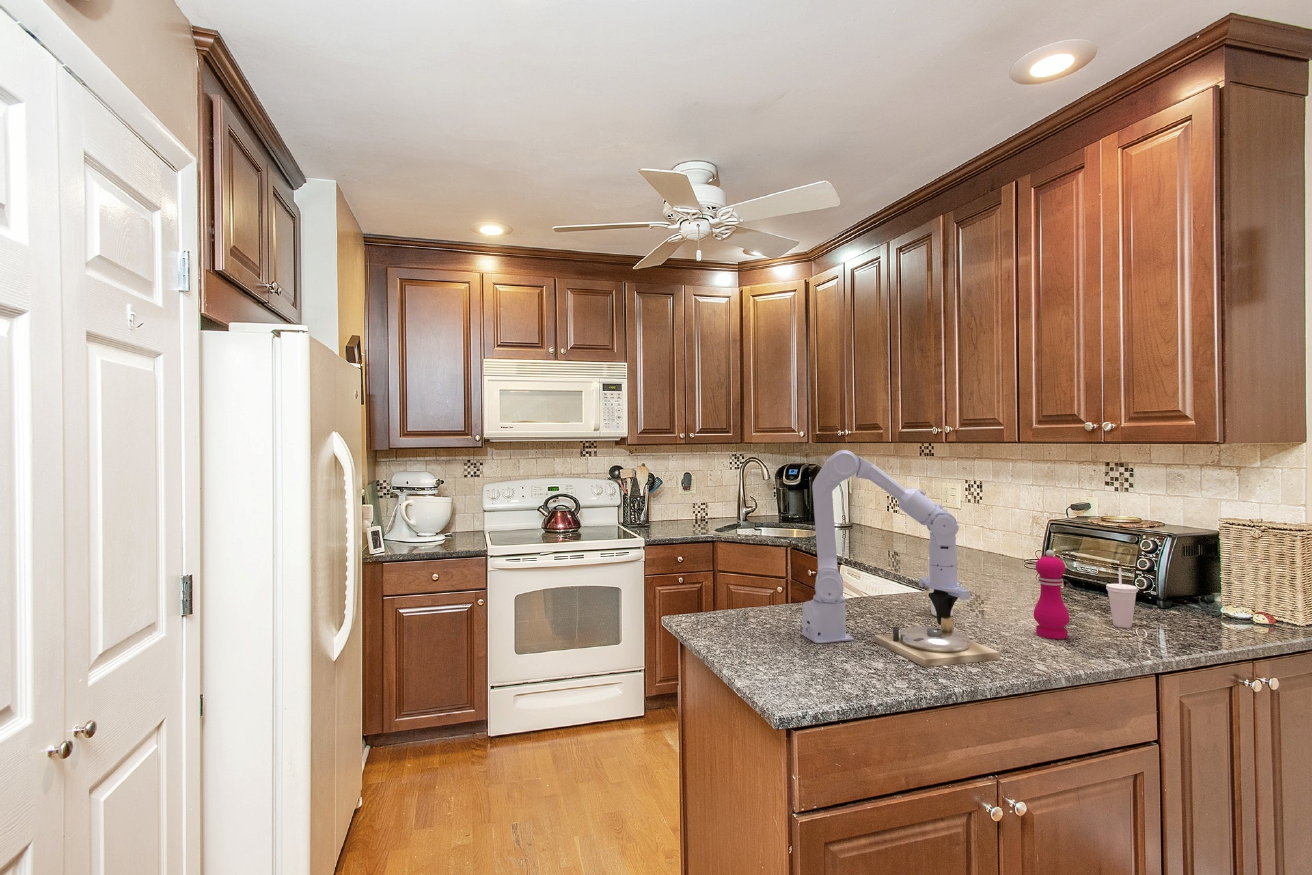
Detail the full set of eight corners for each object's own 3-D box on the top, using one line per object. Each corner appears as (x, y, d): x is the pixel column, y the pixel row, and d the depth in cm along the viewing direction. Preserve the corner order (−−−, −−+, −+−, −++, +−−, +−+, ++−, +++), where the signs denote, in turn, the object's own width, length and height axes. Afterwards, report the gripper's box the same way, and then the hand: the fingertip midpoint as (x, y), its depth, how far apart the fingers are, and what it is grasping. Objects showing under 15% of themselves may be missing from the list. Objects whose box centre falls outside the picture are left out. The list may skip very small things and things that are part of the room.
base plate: (924, 667, 134) (924, 644, 134) (874, 641, 151) (874, 622, 151) (999, 659, 138) (999, 637, 138) (942, 635, 156) (942, 616, 156)
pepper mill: (1075, 640, 150) (1073, 552, 151) (1040, 639, 152) (1038, 551, 152) (1062, 631, 157) (1060, 547, 158) (1029, 630, 159) (1027, 547, 159)
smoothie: (1128, 622, 165) (1127, 566, 165) (1144, 629, 159) (1143, 570, 159) (1101, 622, 166) (1100, 565, 166) (1116, 629, 159) (1115, 570, 159)
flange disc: (946, 656, 135) (945, 634, 135) (887, 640, 146) (886, 619, 146) (982, 643, 143) (982, 622, 143) (923, 629, 154) (923, 610, 154)
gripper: (981, 569, 143) (982, 631, 143) (936, 557, 157) (937, 614, 157) (953, 571, 141) (954, 634, 141) (910, 559, 155) (912, 617, 155)
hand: (944, 624), depth 149 cm, fingers closed, pressing on flange disc
